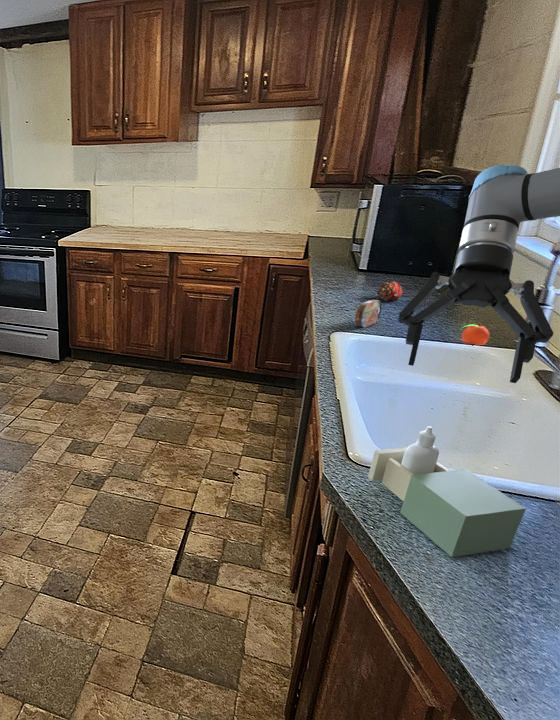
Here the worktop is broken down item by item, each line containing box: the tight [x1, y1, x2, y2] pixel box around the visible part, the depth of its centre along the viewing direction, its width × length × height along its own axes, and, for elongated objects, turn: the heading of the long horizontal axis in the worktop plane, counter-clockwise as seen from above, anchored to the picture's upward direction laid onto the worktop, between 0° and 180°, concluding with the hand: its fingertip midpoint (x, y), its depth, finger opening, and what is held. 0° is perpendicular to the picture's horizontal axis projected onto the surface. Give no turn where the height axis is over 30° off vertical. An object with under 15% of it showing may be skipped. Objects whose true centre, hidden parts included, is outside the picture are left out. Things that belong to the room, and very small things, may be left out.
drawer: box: [367, 446, 451, 502], centre depth 94 cm, size 11×10×6 cm
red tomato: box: [459, 324, 490, 346], centre depth 166 cm, size 8×7×7 cm
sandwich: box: [354, 299, 382, 329], centre depth 184 cm, size 15×3×8 cm, turn 129°
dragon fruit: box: [376, 281, 404, 302], centre depth 214 cm, size 8×8×12 cm
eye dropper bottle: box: [401, 425, 440, 475], centre depth 92 cm, size 4×6×12 cm
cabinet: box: [399, 468, 527, 558], centre depth 85 cm, size 11×11×8 cm
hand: (461, 371), depth 84 cm, fingers open, 13 cm apart
